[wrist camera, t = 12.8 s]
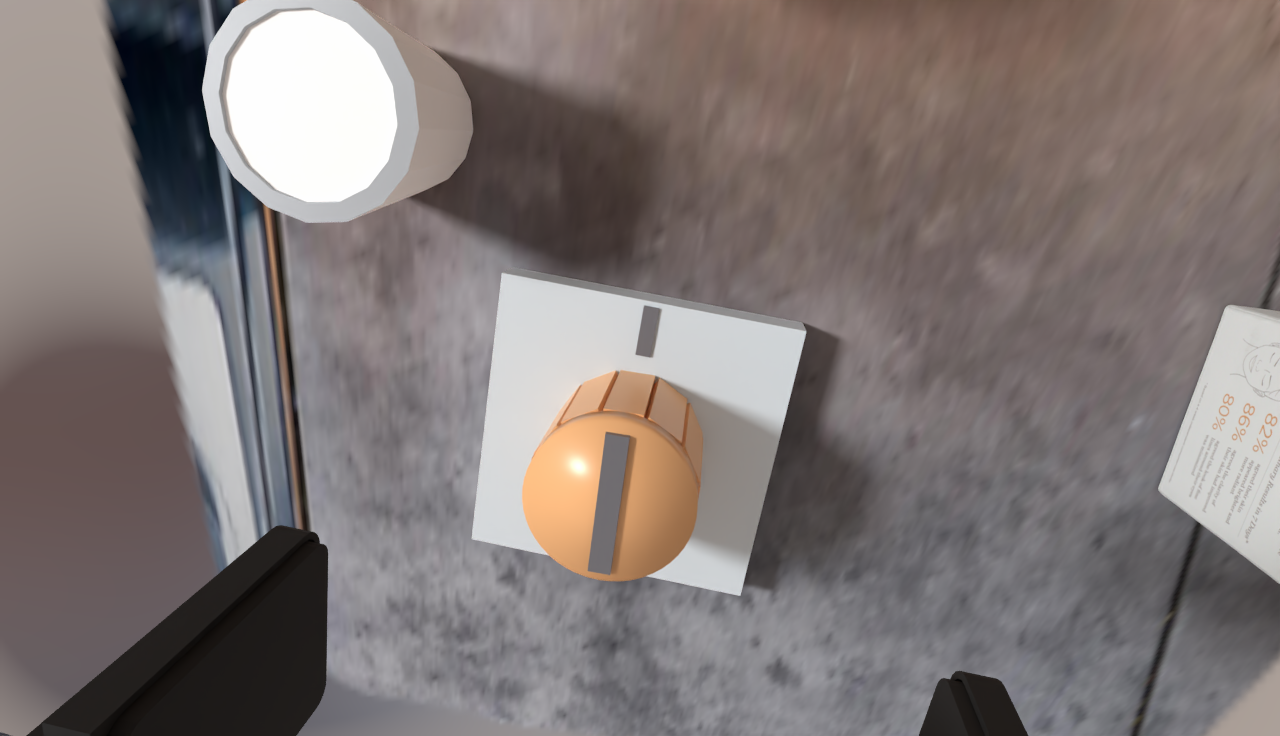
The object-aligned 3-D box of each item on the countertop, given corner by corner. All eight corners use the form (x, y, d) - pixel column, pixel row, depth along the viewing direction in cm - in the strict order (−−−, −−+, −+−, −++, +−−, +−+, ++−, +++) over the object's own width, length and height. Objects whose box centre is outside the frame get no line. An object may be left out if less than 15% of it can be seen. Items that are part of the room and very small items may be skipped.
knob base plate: (802, 322, 29) (820, 360, 24) (739, 576, 33) (742, 657, 27) (512, 266, 30) (468, 292, 24) (482, 522, 33) (438, 591, 28)
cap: (689, 518, 30) (682, 598, 25) (550, 494, 31) (513, 567, 25) (712, 384, 29) (711, 439, 23) (564, 360, 29) (528, 409, 24)
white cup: (509, 186, 29) (446, 197, 22) (353, 223, 30) (247, 245, 23) (460, 1, 27) (374, -47, 20) (296, 48, 28) (164, 17, 21)
